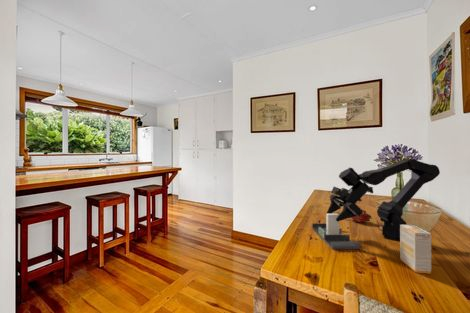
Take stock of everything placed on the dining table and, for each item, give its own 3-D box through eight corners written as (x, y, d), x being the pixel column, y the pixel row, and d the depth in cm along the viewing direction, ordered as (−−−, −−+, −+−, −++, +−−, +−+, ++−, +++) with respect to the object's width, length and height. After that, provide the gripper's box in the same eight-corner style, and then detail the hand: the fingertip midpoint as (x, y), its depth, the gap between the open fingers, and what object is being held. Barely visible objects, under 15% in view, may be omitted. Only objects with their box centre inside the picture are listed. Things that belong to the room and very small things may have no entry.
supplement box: (432, 274, 63) (432, 233, 63) (415, 272, 64) (415, 232, 64) (414, 260, 71) (414, 224, 71) (399, 259, 72) (399, 223, 72)
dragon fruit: (346, 221, 118) (370, 229, 109) (343, 215, 113) (367, 224, 104) (352, 208, 120) (375, 216, 111) (348, 202, 115) (372, 209, 106)
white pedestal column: (336, 234, 93) (336, 212, 93) (340, 237, 89) (340, 215, 89) (325, 233, 94) (325, 212, 93) (329, 237, 90) (329, 215, 89)
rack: (333, 228, 102) (333, 221, 102) (359, 249, 80) (359, 239, 80) (312, 228, 103) (312, 221, 102) (332, 249, 81) (332, 239, 81)
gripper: (333, 178, 100) (311, 200, 101) (354, 183, 82) (328, 210, 82) (349, 193, 100) (327, 215, 101) (374, 202, 82) (347, 229, 82)
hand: (331, 217), depth 91 cm, fingers open, 9 cm apart
